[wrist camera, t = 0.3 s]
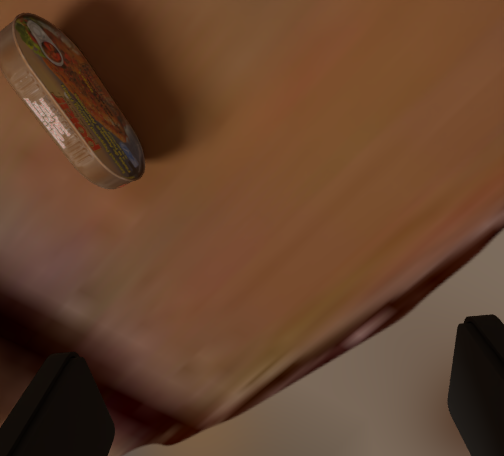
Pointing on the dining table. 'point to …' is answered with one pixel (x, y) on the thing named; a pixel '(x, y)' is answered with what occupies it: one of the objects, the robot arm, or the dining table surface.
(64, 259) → the dining table surface
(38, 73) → the tin
